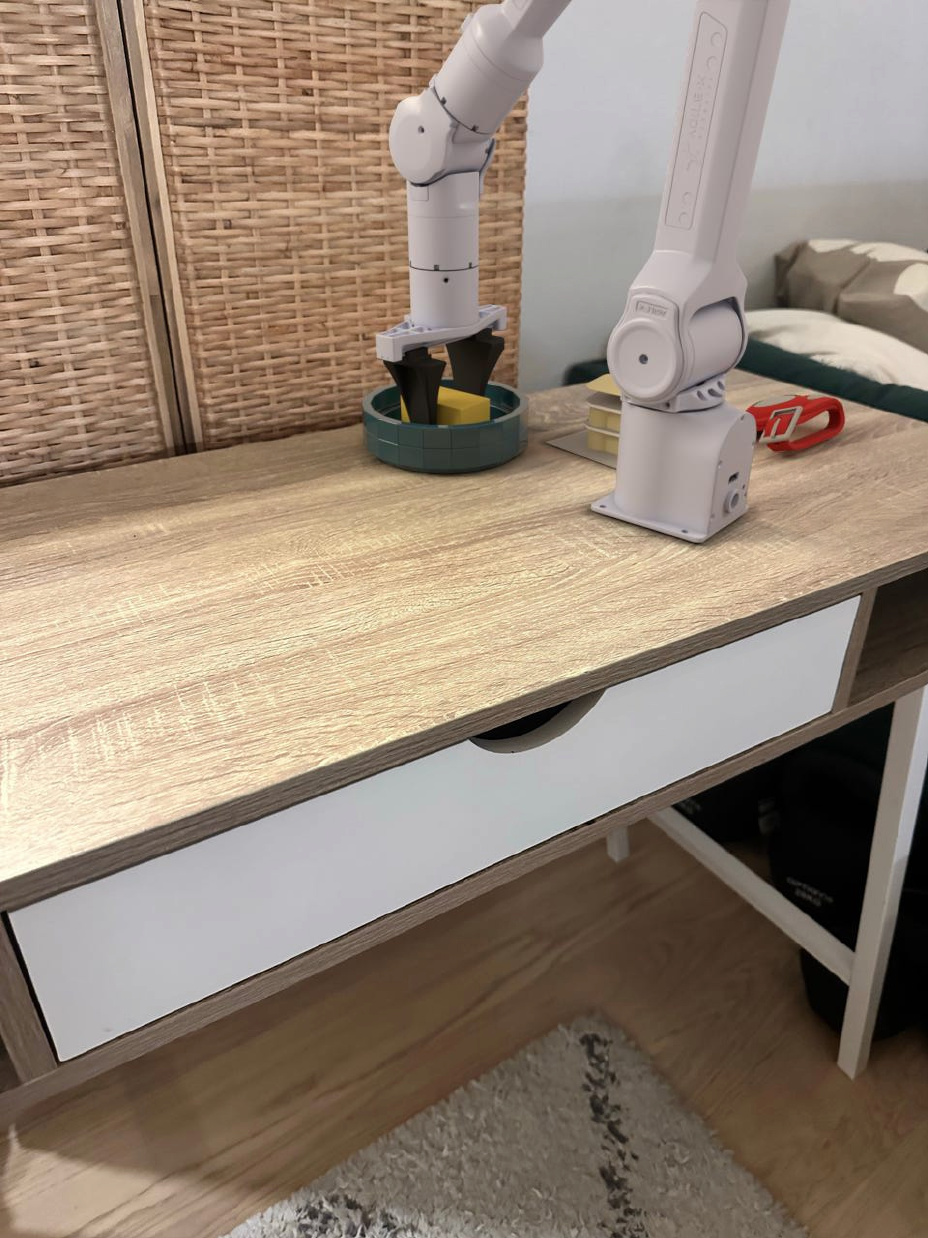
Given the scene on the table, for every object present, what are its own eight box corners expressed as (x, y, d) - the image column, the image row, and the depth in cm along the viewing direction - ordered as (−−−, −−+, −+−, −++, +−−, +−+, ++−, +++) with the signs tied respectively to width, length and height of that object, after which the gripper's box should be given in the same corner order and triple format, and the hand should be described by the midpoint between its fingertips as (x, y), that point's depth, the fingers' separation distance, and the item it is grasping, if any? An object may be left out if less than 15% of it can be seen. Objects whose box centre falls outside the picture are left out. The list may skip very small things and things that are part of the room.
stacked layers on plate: (695, 449, 84) (703, 388, 81) (628, 473, 79) (634, 409, 76) (611, 421, 90) (616, 364, 88) (545, 442, 85) (547, 382, 83)
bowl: (559, 442, 86) (561, 397, 83) (454, 490, 76) (454, 440, 74) (439, 410, 94) (439, 368, 92) (331, 449, 84) (327, 403, 82)
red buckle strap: (713, 408, 90) (812, 378, 90) (722, 452, 92) (819, 423, 92) (765, 419, 79) (878, 385, 79) (774, 470, 80) (885, 436, 80)
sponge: (489, 442, 84) (490, 398, 82) (460, 454, 81) (460, 409, 79) (431, 425, 88) (430, 383, 86) (402, 436, 85) (400, 393, 83)
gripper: (464, 248, 84) (464, 397, 91) (345, 271, 74) (355, 436, 81) (527, 257, 80) (522, 412, 87) (410, 283, 71) (415, 455, 77)
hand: (446, 425), depth 84 cm, fingers open, 5 cm apart
